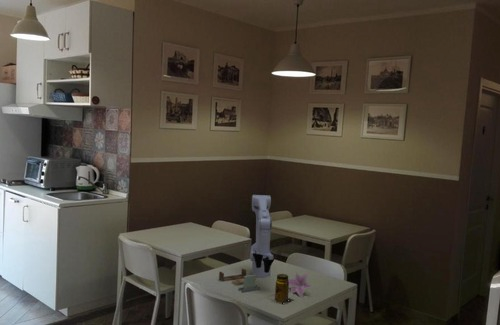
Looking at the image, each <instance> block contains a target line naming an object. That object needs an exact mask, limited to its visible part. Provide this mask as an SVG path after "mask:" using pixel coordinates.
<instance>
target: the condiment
mask: <svg viewBox="0 0 500 325" xmlns="http://www.w3.org/2000/svg"><path fill="white" fill-rule="evenodd" d="M288 280H289V275H288V274H286V273H279V274H277V276H276V281H275V288H274V289H275V291H274V292H275V293H274V298H273V299H271V301H272V302H275V301H276V302H275V303H278V302H279V303H278V304H281V305H287V304H288V303H290V302H293V300H295V298H290V297H289V291H290V290H289V287H290V285H289V281H288ZM288 300H289V301H288ZM282 303H283V304H282Z"/></svg>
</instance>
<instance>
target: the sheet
mask: <svg viewBox="0 0 500 325" xmlns="http://www.w3.org/2000/svg"><path fill="white" fill-rule="evenodd" d="M243 280H244V285H242V287H243V290H244V289H251V288H255V285H256V283H257V282H256V280H257V278H256V275H252V274H250V275H249V274H248V275H246V276H244V279H243Z"/></svg>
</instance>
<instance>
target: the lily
mask: <svg viewBox="0 0 500 325" xmlns="http://www.w3.org/2000/svg"><path fill="white" fill-rule="evenodd" d="M308 278H309V272H308V273H304V274H302V275H299V273H298V272H296V271H295V272H294V278H290V279H289V278H288V281H289V287H291V289H290V290H289V292H290V293H291V294H294V293H297V294H298V296H299V297H300V298H303V296H304V291H305V290H306V289H310V288H312V286H311V285H310V284H309V283H307V280H308Z"/></svg>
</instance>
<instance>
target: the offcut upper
mask: <svg viewBox="0 0 500 325" xmlns="http://www.w3.org/2000/svg"><path fill="white" fill-rule="evenodd" d="M231 282H232V283H233V284H232V283H231V284H232V285H234V284H235V285H238V286H243V285H242V284H244V279H237V280H231ZM235 285H234V286H235Z"/></svg>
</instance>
